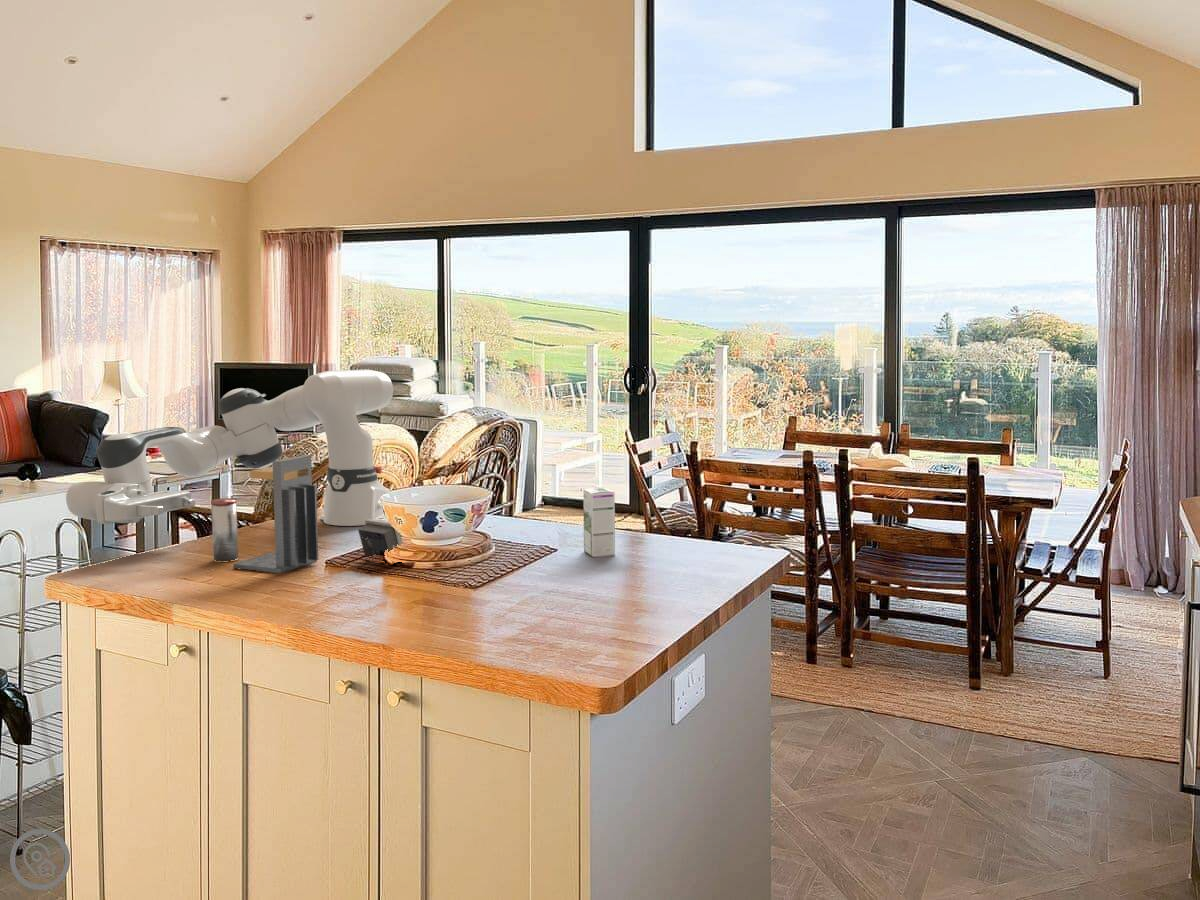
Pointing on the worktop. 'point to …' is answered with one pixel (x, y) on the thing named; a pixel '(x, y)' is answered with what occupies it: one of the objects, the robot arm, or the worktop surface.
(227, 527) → the can
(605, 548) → the syrup box
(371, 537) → the electrical switch
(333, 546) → the worktop surface
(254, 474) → the bracket
